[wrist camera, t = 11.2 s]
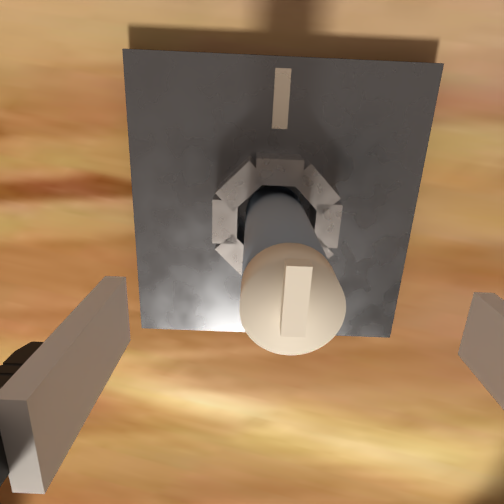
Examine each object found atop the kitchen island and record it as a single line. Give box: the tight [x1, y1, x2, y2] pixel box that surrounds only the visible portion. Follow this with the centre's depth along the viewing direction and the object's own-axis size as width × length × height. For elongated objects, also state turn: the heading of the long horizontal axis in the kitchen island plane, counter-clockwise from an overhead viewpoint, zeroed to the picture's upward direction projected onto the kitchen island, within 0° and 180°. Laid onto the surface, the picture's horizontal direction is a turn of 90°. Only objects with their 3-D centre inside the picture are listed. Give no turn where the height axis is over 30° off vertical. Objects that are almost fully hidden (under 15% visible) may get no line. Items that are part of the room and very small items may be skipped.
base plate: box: [122, 49, 444, 337], centre depth 27 cm, size 20×20×4 cm
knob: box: [239, 185, 346, 355], centre depth 21 cm, size 4×4×15 cm
